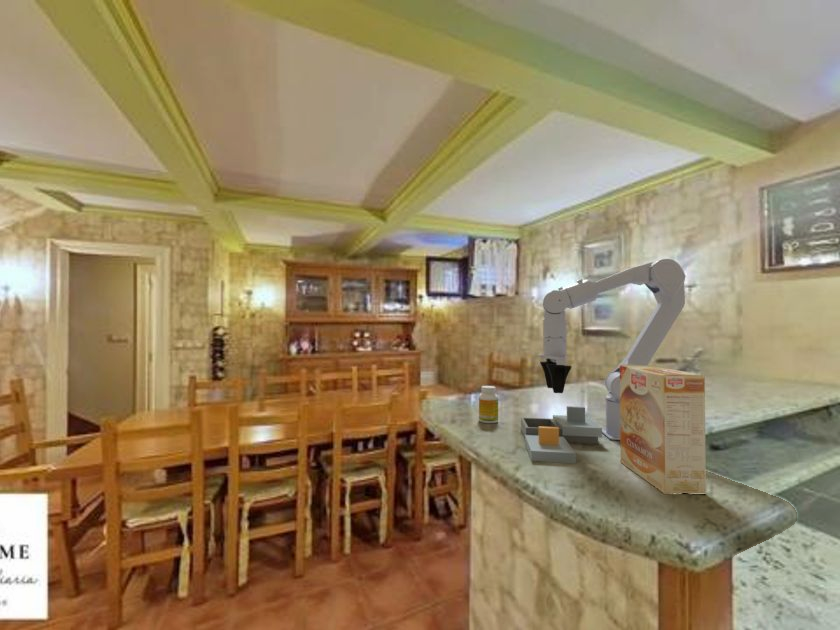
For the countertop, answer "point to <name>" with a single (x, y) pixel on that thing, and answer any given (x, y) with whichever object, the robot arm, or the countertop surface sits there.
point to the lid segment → (577, 423)
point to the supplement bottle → (488, 405)
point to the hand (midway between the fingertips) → (554, 390)
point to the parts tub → (531, 426)
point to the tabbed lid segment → (549, 446)
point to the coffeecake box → (663, 427)
